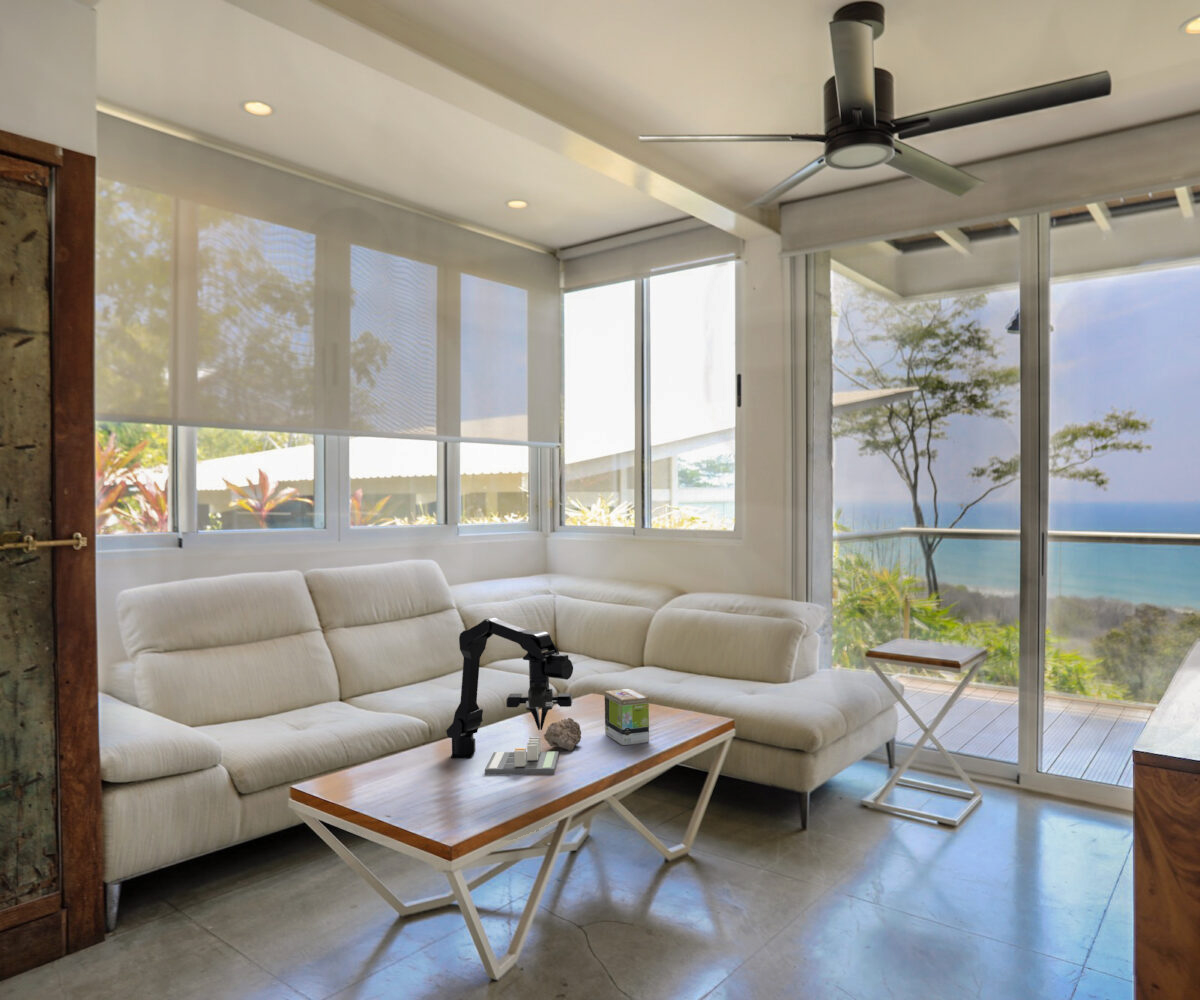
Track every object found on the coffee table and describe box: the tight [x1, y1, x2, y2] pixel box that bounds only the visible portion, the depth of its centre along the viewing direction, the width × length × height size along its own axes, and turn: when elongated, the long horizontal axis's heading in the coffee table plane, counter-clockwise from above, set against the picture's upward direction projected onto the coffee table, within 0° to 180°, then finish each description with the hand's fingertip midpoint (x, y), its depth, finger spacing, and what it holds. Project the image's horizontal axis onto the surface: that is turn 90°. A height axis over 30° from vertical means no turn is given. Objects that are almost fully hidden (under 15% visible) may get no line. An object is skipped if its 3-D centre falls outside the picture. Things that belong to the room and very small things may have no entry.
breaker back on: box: [528, 736, 541, 754], centre depth 249 cm, size 3×3×5 cm
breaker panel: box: [484, 751, 560, 776], centre depth 244 cm, size 20×16×2 cm
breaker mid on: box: [526, 741, 538, 760], centre depth 244 cm, size 3×3×5 cm
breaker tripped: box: [513, 747, 527, 767], centre depth 238 cm, size 3×3×5 cm
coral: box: [543, 717, 582, 752], centre depth 261 cm, size 14×9×10 cm, turn 142°
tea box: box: [604, 688, 650, 746], centre depth 269 cm, size 15×10×15 cm
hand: (540, 729), depth 238 cm, fingers closed
